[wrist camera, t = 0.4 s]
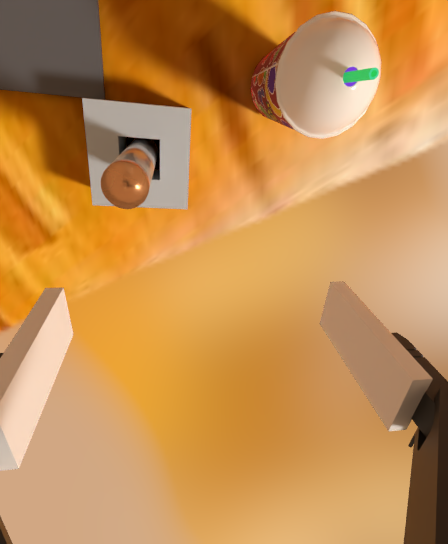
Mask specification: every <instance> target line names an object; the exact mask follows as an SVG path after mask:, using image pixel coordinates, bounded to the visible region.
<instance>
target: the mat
mask: <svg viewBox="0 0 448 544" xmlns="http://www.w3.org/2000/svg"><path fill="white" fill-rule="evenodd" d="M0 89H1V90H11V91H22V92H32V93H42V94H52V95H62V96H72V97H82V98H93V99H103V100H105V91H104V77H103V62H102V48H101V34H100V20H99V6H98V0H0Z"/></svg>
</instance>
